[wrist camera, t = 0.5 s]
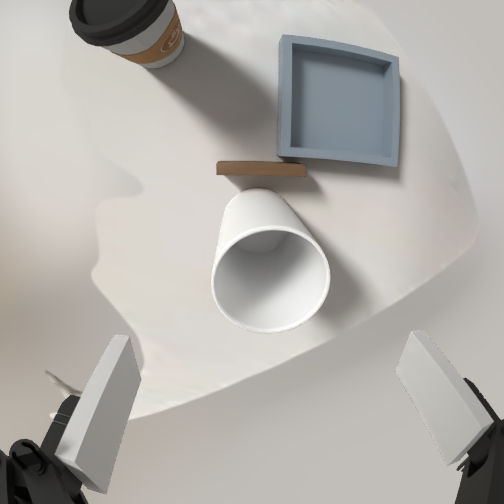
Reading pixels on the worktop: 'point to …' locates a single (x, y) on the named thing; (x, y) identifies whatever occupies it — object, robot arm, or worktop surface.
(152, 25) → the coffee cup
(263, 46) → the worktop surface
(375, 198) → the worktop surface
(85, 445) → the robot arm
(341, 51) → the tray
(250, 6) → the worktop surface
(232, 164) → the clip rails
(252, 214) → the cup
